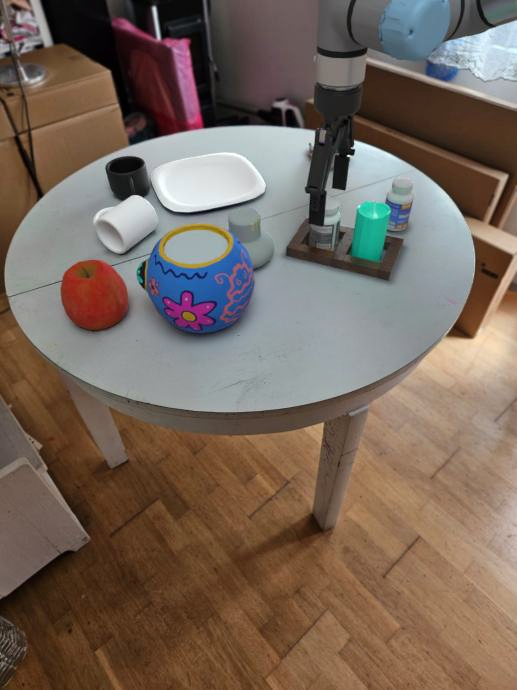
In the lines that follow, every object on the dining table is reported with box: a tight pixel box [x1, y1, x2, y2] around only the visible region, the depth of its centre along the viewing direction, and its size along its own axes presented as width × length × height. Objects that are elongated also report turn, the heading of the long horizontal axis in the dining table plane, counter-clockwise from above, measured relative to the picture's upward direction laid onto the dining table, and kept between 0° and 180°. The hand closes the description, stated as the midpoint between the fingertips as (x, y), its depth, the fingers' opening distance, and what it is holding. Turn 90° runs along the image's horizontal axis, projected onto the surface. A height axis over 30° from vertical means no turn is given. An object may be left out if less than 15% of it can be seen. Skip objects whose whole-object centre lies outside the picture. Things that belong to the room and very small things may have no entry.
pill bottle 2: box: [384, 177, 415, 232], centre depth 96 cm, size 5×5×10 cm
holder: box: [285, 217, 405, 281], centre depth 93 cm, size 21×11×2 cm, turn 66°
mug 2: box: [92, 195, 159, 255], centre depth 96 cm, size 12×10×8 cm
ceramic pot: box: [136, 223, 256, 334], centre depth 77 cm, size 18×18×15 cm
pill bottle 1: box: [308, 195, 342, 252], centre depth 92 cm, size 6×6×10 cm
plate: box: [149, 152, 267, 214], centre depth 112 cm, size 25×25×2 cm
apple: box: [60, 258, 129, 331], centre depth 79 cm, size 11×11×11 cm
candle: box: [349, 200, 391, 262], centre depth 88 cm, size 6×6×12 cm
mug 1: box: [104, 155, 150, 200], centre depth 108 cm, size 12×9×7 cm
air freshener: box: [227, 207, 275, 270], centre depth 89 cm, size 11×8×10 cm
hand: (328, 205), depth 88 cm, fingers open, 13 cm apart
